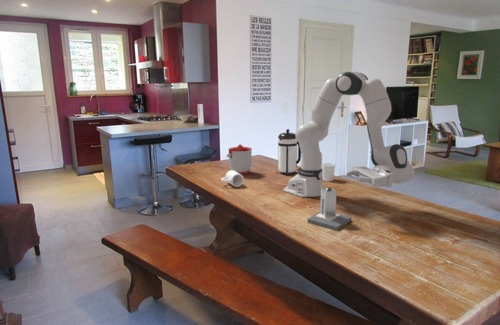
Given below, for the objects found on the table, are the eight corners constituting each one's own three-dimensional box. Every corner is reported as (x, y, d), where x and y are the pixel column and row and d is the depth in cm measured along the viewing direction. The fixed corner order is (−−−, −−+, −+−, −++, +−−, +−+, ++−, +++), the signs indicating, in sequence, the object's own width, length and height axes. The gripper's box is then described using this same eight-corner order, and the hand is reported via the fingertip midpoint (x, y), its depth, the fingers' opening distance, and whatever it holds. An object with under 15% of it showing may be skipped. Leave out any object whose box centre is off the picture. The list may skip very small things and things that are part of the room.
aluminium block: (319, 214, 157) (320, 186, 154) (330, 212, 158) (331, 186, 155) (324, 218, 152) (325, 190, 149) (335, 216, 153) (336, 189, 150)
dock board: (307, 222, 152) (307, 218, 151) (322, 213, 162) (322, 209, 162) (336, 230, 143) (337, 226, 143) (351, 220, 153) (351, 216, 153)
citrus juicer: (223, 171, 240) (223, 143, 235) (247, 169, 246) (247, 141, 241) (230, 177, 225) (230, 147, 221) (255, 174, 231) (255, 145, 227)
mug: (237, 181, 215) (237, 169, 213) (244, 186, 206) (243, 173, 204) (219, 184, 210) (218, 171, 208) (225, 188, 201) (224, 175, 200)
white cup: (325, 182, 213) (325, 166, 210) (319, 178, 220) (319, 163, 218) (336, 181, 215) (337, 165, 212) (330, 177, 222) (331, 162, 220)
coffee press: (299, 176, 226) (300, 130, 220) (274, 175, 229) (275, 130, 223) (300, 169, 243) (301, 127, 236) (278, 169, 246) (278, 127, 239)
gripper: (368, 162, 166) (342, 164, 163) (395, 174, 147) (366, 176, 144) (366, 175, 168) (340, 177, 165) (393, 188, 149) (364, 190, 145)
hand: (352, 176), depth 154 cm, fingers open, 8 cm apart
